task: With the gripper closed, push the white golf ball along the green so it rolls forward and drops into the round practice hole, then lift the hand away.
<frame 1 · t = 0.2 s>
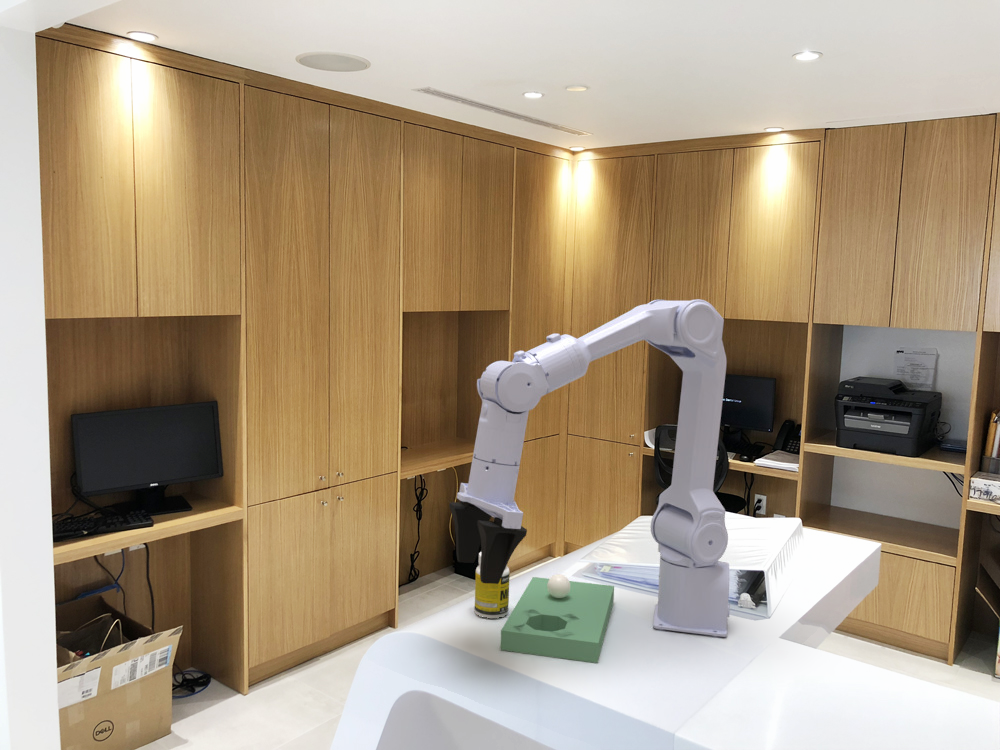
hand: (477, 571, 92), 10 cm above the table, tool pointing down, fingers open, 7 cm apart
supplement bottle: (491, 614, 107), on the table
green: (561, 624, 103), on the table
ball: (558, 586, 106), point 4 cm above the table, touching green
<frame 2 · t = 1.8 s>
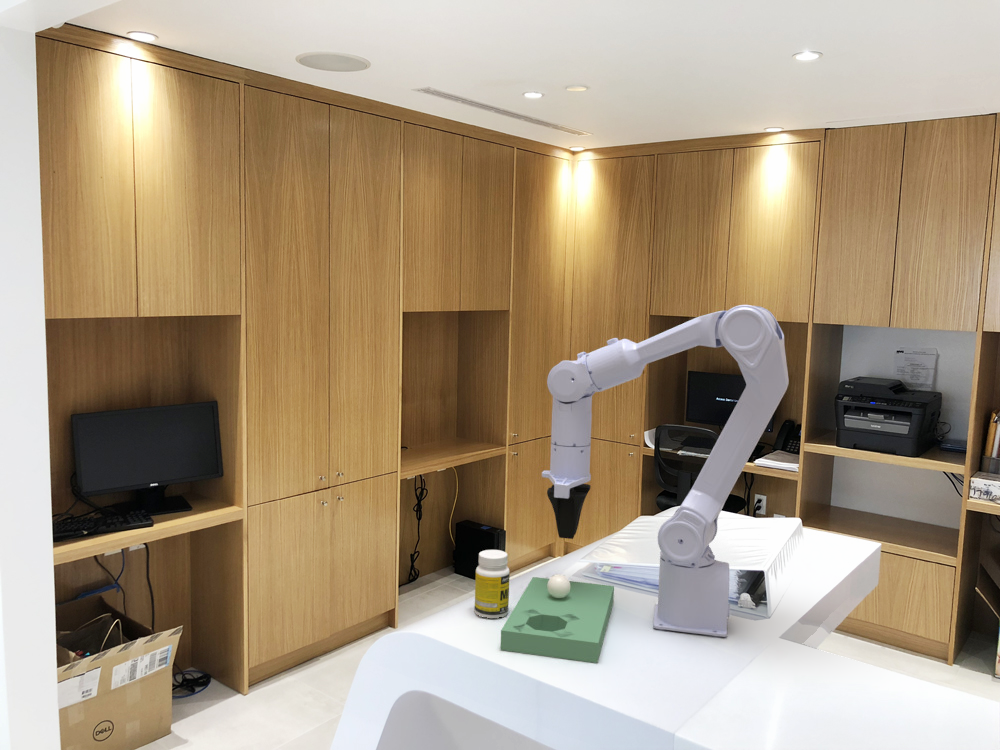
hand: (567, 535, 112), 9 cm above the table, tool pointing down, fingers closed
nothing on the table moved.
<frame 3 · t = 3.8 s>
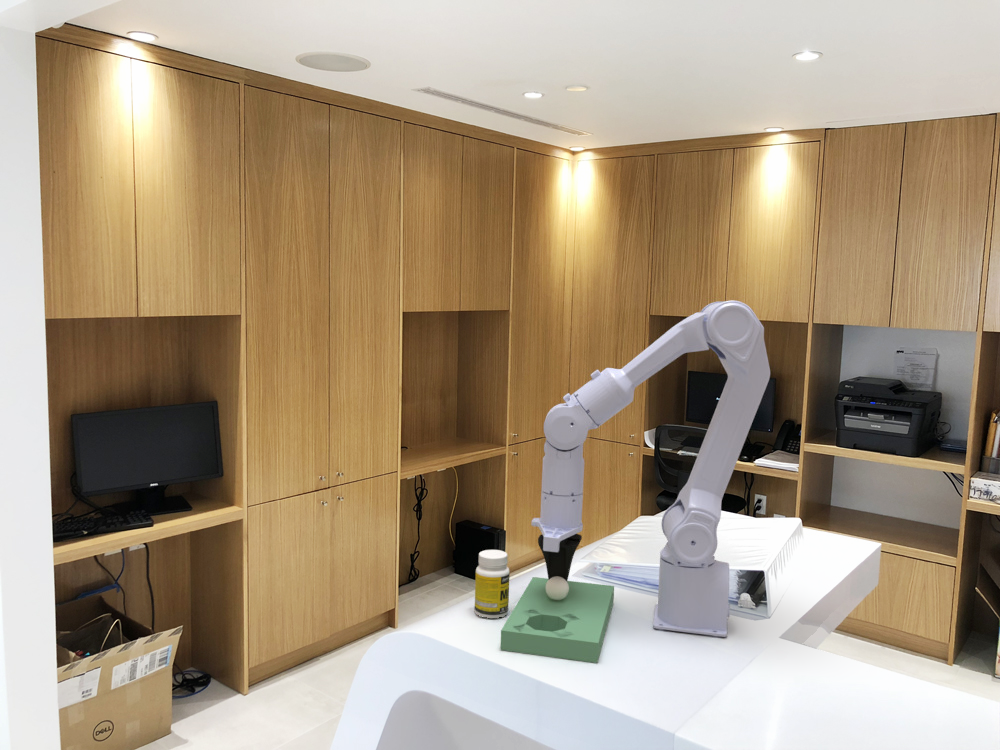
hand: (557, 587, 107), 4 cm above the table, tool pointing down, fingers closed, pressing on ball
ball: (557, 588, 105), point 4 cm above the table, tilted 24°, touching green, gripper
everything else where it was.
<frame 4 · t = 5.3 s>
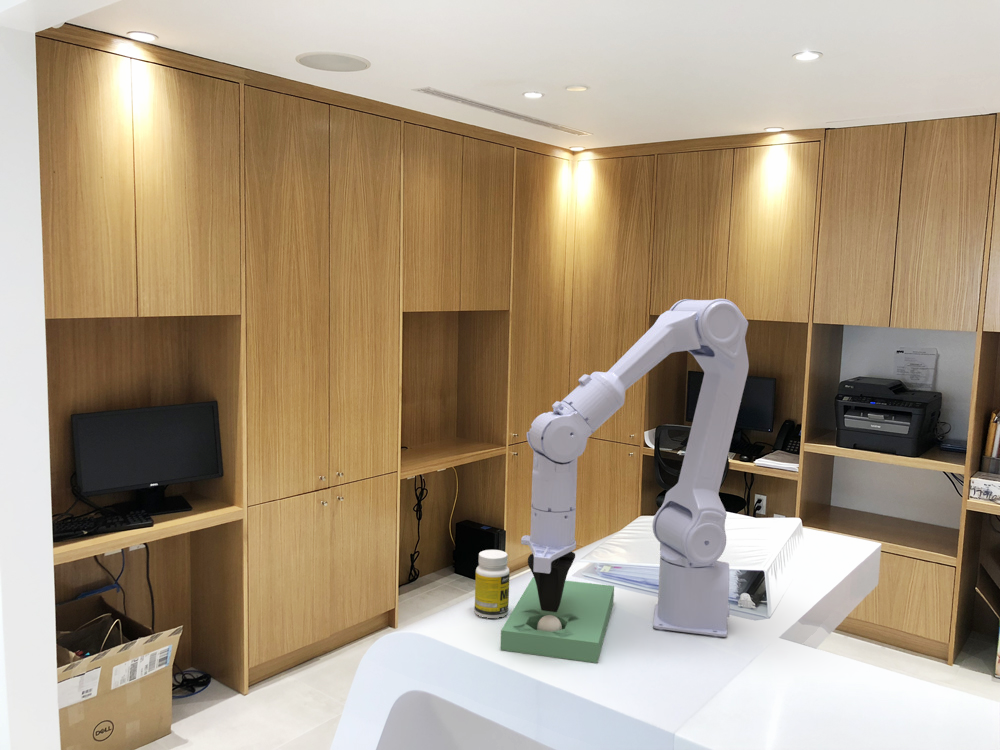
hand: (550, 609, 99), 3 cm above the table, tool pointing down, fingers closed
ball: (549, 628, 98), point 2 cm above the table, tilted 48°
everything else where it was.
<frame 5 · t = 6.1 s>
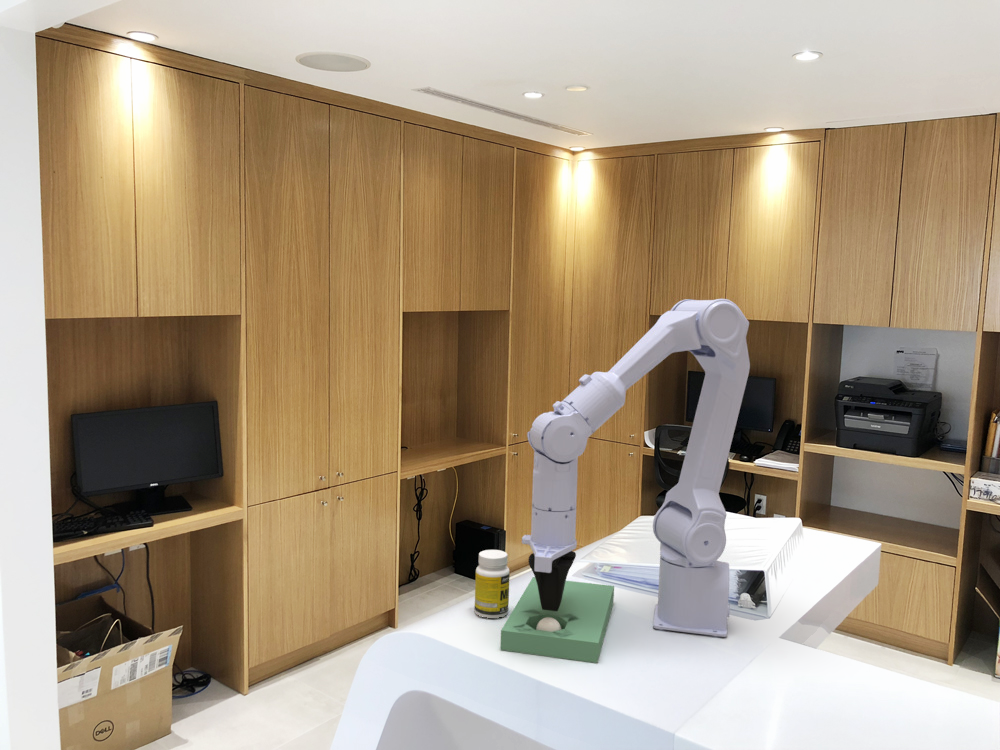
hand: (550, 608, 100), 3 cm above the table, tool pointing down, fingers closed
ball: (548, 630, 97), point 2 cm above the table, tilted 22°
everything else where it was.
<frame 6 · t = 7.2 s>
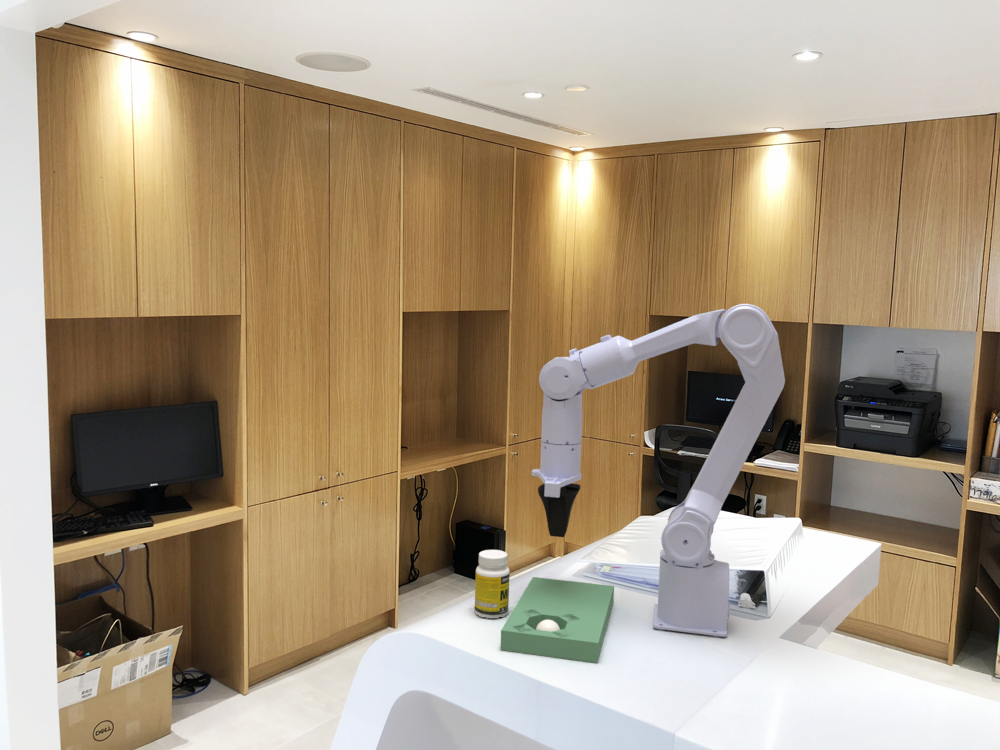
hand: (557, 535, 110), 10 cm above the table, tool pointing down, fingers closed
ball: (547, 632, 97), point 2 cm above the table, tilted 9°
everything else where it was.
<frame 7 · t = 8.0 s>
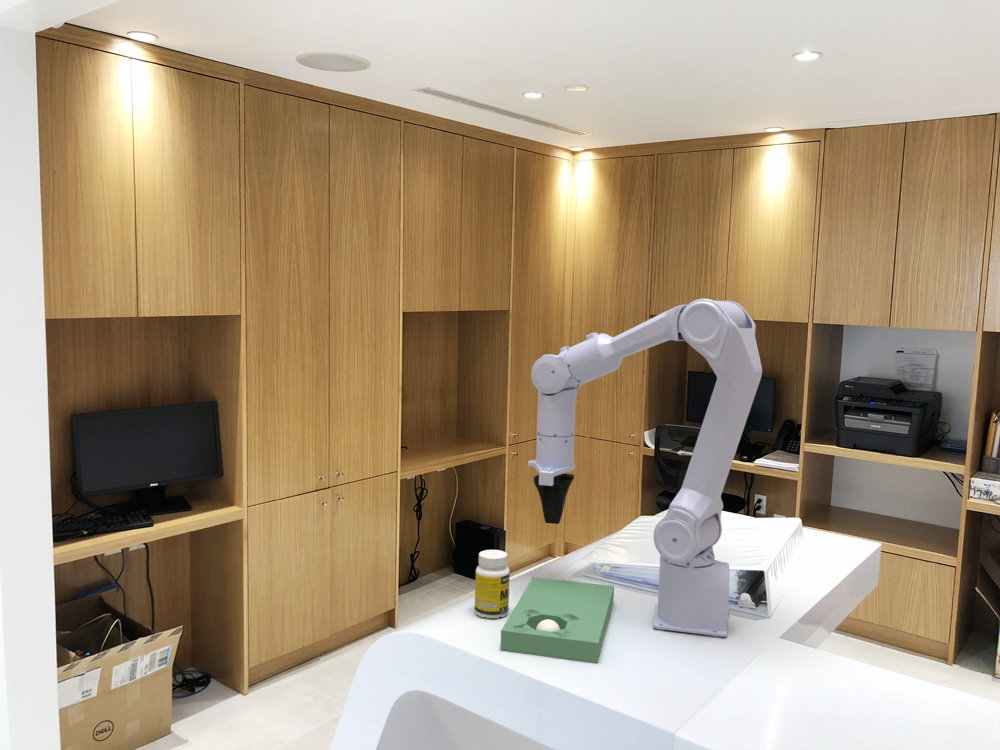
hand: (552, 522, 117), 10 cm above the table, tool pointing down, fingers closed
nothing on the table moved.
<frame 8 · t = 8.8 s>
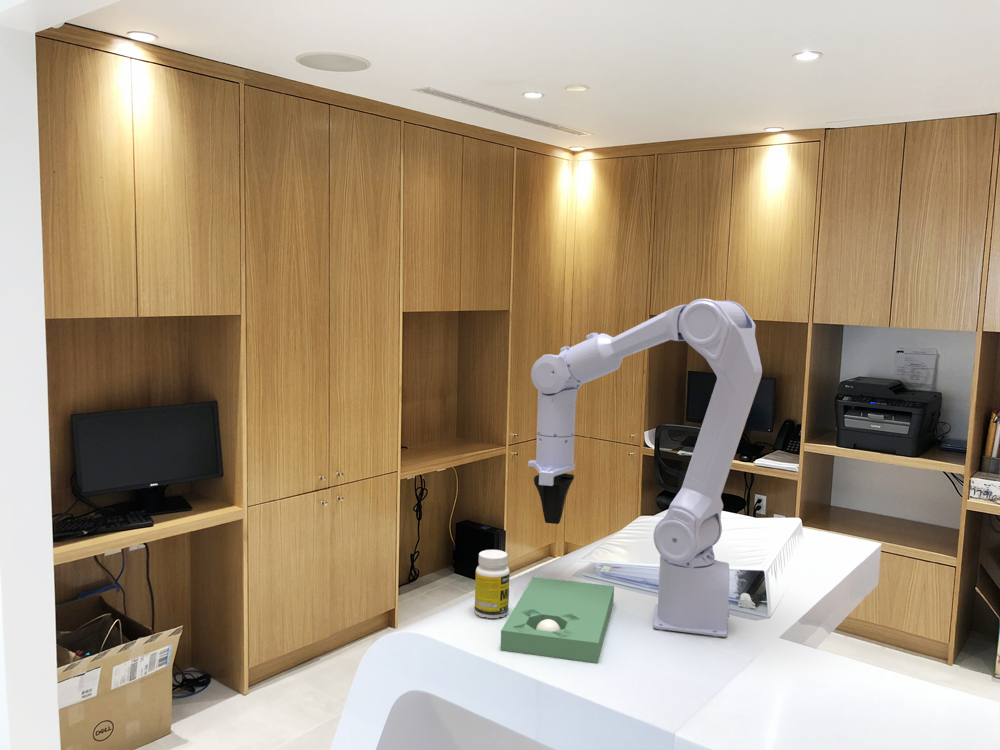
hand: (552, 522, 117), 10 cm above the table, tool pointing down, fingers closed
nothing on the table moved.
at the end: ball 0.8 cm from the target spot in the green, point 1.6 cm above the green's base; ball touching table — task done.
